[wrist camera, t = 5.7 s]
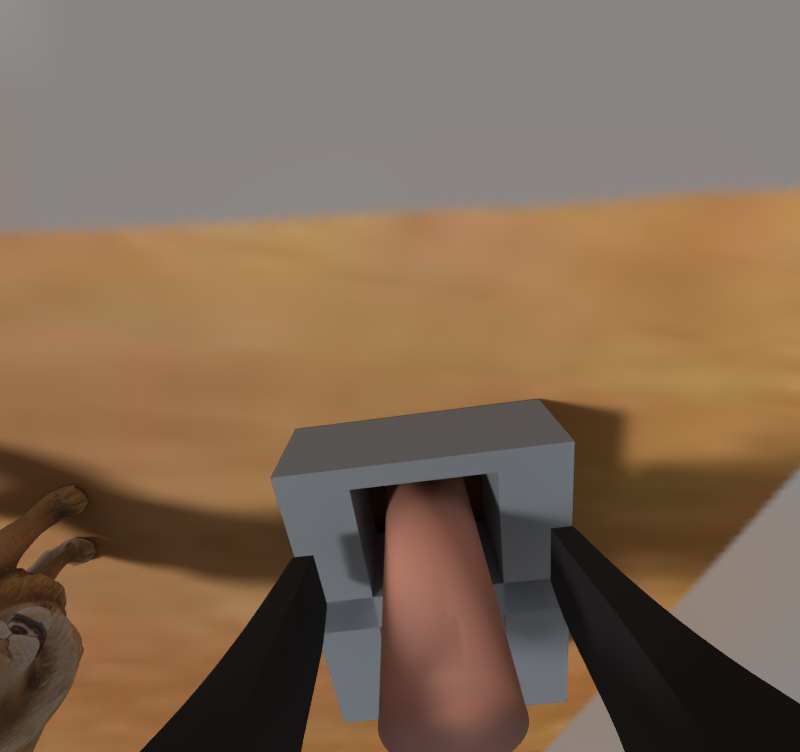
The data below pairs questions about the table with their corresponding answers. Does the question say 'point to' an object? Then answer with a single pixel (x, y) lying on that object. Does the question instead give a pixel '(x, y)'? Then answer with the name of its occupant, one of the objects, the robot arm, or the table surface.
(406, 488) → the peg
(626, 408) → the table surface
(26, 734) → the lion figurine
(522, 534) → the hole block
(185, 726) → the robot arm
